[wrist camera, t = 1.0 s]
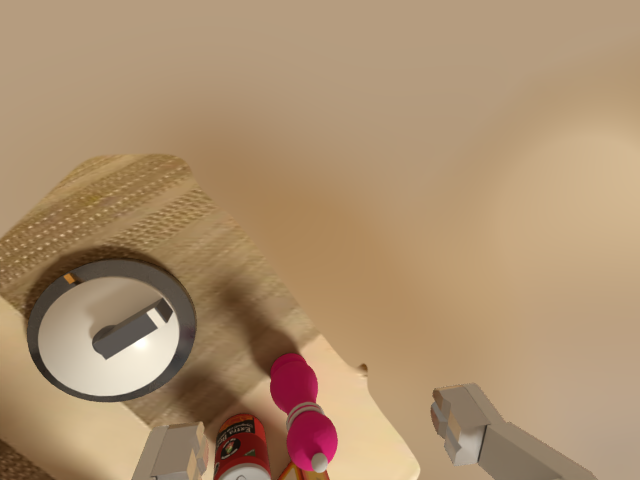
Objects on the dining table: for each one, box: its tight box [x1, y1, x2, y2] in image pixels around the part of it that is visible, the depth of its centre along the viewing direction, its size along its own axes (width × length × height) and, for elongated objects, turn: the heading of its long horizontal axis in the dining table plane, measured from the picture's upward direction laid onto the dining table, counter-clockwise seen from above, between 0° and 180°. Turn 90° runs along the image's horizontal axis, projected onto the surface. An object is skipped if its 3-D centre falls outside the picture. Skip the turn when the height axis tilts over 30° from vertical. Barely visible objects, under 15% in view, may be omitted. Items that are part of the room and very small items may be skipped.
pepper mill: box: [270, 353, 338, 473], centre depth 43 cm, size 7×7×20 cm
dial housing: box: [27, 258, 197, 402], centre depth 43 cm, size 20×20×3 cm
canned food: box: [213, 414, 271, 480], centre depth 46 cm, size 8×8×11 cm
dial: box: [38, 276, 180, 396], centre depth 40 cm, size 16×16×6 cm
